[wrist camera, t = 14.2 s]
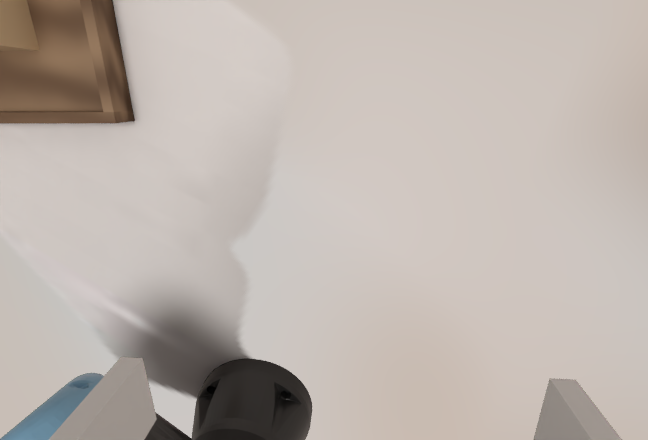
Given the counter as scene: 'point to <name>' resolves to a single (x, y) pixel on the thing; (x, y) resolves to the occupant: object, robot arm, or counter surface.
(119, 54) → the tray
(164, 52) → the counter surface
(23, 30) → the tan block
